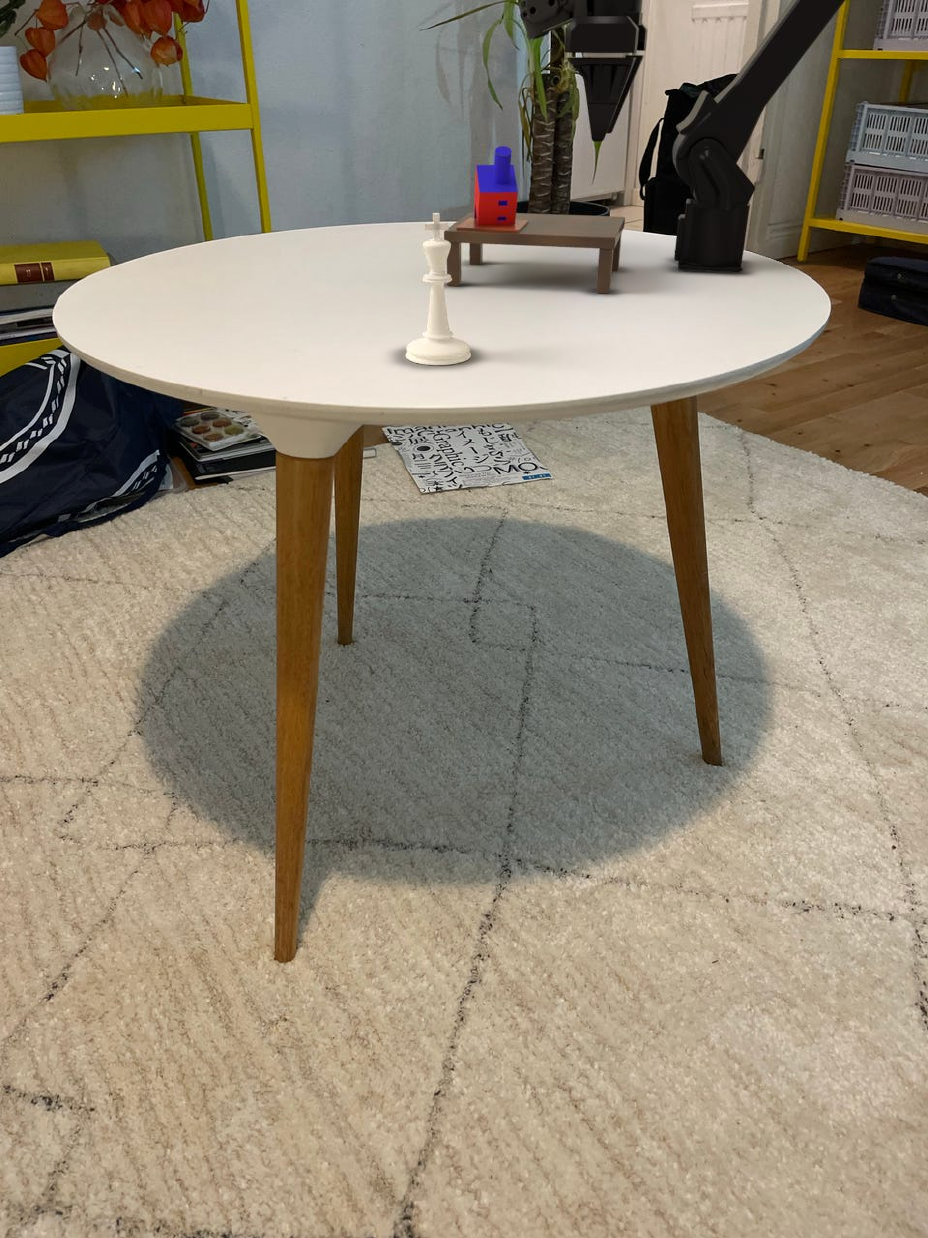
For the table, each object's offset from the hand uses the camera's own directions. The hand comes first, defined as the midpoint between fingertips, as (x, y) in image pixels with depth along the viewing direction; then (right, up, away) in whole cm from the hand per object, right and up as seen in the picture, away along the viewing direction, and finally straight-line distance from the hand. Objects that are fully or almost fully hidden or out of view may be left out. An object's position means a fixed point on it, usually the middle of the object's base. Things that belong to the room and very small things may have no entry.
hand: (602, 136), depth 96 cm
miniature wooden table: (-7, -14, 0) cm, 15 cm away
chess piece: (-16, -28, -23) cm, 40 cm away
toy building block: (-11, -10, -3) cm, 15 cm away
